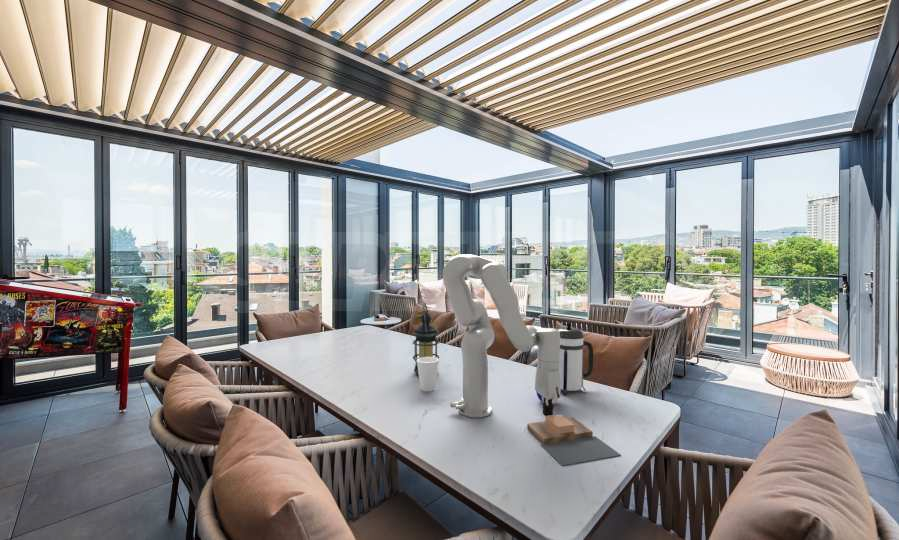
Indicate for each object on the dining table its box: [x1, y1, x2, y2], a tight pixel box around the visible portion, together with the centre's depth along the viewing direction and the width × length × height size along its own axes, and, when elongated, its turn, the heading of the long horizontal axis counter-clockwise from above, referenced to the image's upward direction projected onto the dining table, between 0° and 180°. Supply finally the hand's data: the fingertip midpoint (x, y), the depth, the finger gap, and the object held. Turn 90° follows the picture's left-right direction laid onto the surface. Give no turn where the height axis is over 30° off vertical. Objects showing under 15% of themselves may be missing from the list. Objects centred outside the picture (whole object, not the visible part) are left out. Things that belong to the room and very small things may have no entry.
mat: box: [540, 435, 621, 467], centre depth 119 cm, size 20×12×1 cm, turn 106°
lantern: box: [412, 302, 440, 375], centre depth 191 cm, size 14×13×35 cm
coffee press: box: [556, 321, 594, 396], centre depth 170 cm, size 17×16×30 cm
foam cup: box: [417, 356, 440, 392], centre depth 170 cm, size 10×9×13 cm
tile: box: [544, 414, 574, 434], centre depth 130 cm, size 6×8×2 cm
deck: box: [526, 417, 594, 445], centre depth 130 cm, size 18×11×2 cm, turn 106°
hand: (547, 414), depth 137 cm, fingers closed
